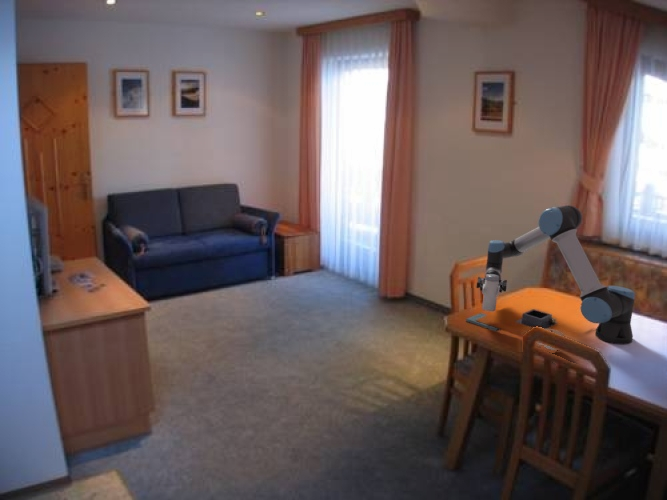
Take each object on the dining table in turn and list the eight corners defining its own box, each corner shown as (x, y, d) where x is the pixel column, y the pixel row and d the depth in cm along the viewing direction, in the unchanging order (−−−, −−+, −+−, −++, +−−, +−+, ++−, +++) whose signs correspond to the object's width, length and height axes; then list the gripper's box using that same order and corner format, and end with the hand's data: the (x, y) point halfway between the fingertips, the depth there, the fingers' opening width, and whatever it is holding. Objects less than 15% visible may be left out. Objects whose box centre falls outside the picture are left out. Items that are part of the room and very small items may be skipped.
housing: (557, 326, 294) (558, 315, 292) (542, 333, 284) (543, 322, 283) (529, 317, 303) (531, 306, 302) (514, 324, 294) (515, 313, 293)
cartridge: (498, 309, 293) (502, 276, 289) (491, 312, 289) (494, 278, 285) (486, 305, 298) (490, 273, 293) (479, 308, 293) (482, 275, 289)
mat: (510, 325, 293) (510, 322, 293) (496, 331, 285) (496, 328, 285) (480, 315, 304) (480, 313, 304) (466, 321, 296) (466, 318, 296)
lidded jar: (557, 358, 259) (560, 336, 257) (531, 351, 266) (534, 330, 263) (565, 350, 268) (568, 329, 265) (540, 343, 274) (543, 322, 271)
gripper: (512, 287, 306) (511, 302, 284) (472, 282, 311) (468, 297, 289) (513, 272, 304) (513, 286, 282) (473, 267, 309) (469, 281, 287)
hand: (490, 292), depth 286 cm, fingers closed on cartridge, 6 cm apart
